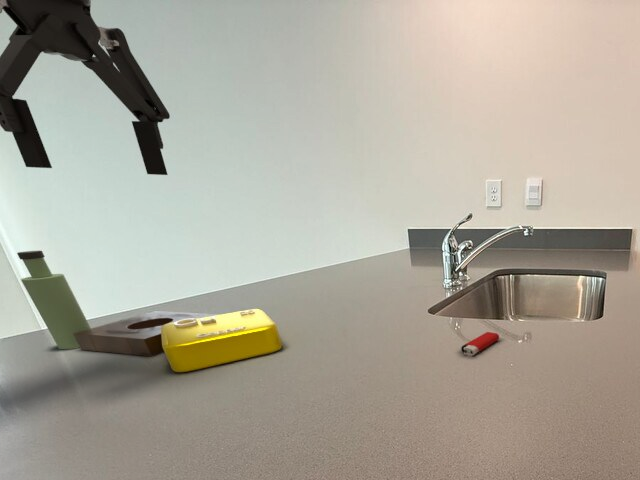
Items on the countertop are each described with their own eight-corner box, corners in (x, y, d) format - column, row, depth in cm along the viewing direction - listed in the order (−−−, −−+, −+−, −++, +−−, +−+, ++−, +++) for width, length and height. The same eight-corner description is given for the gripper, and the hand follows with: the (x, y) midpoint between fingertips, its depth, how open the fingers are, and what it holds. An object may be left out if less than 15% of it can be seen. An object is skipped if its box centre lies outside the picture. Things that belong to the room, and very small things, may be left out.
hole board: (81, 349, 70) (72, 333, 69) (161, 325, 82) (155, 310, 81) (151, 356, 67) (143, 339, 65) (225, 329, 79) (219, 314, 77)
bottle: (51, 348, 71) (-2, 254, 64) (84, 338, 76) (38, 249, 69) (71, 350, 70) (20, 254, 63) (104, 340, 75) (59, 249, 67)
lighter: (499, 333, 69) (473, 349, 62) (499, 340, 69) (473, 357, 63) (484, 331, 70) (458, 346, 63) (485, 338, 70) (458, 354, 64)
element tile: (173, 375, 59) (160, 345, 57) (170, 348, 70) (158, 321, 68) (285, 350, 67) (277, 322, 65) (267, 329, 78) (259, 304, 76)
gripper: (-136, -141, 32) (-4, 164, 41) (171, -1, 54) (213, 177, 63) (-198, -131, 33) (-57, 162, 42) (126, 2, 56) (174, 176, 64)
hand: (105, 171), depth 53 cm, fingers open, 13 cm apart
